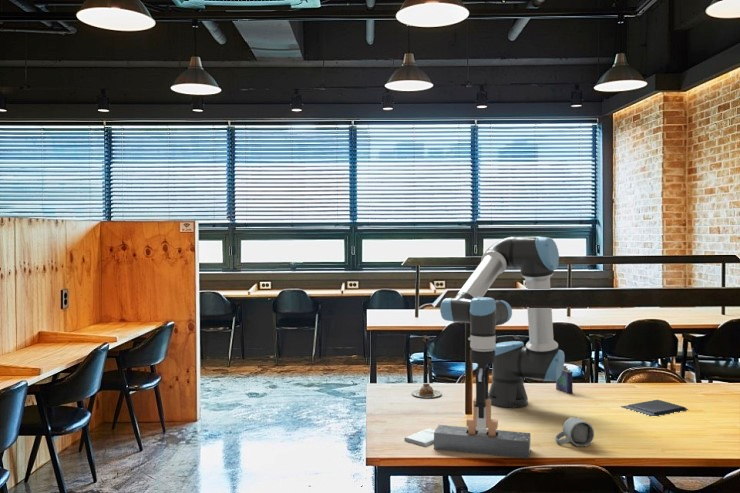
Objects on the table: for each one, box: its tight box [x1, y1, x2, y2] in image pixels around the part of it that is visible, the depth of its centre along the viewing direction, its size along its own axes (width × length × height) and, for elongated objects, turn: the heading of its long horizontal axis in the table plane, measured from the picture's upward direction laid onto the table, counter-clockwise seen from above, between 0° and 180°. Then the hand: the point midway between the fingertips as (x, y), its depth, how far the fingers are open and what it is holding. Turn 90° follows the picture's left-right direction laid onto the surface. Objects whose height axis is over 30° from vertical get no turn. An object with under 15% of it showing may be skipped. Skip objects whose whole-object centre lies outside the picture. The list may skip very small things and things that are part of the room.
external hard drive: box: [403, 428, 436, 447], centre depth 201 cm, size 2×8×12 cm
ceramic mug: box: [554, 417, 595, 447], centre depth 197 cm, size 11×8×8 cm
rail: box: [433, 424, 531, 460], centre depth 191 cm, size 8×28×5 cm, turn 73°
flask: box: [555, 364, 574, 395], centre depth 260 cm, size 9×3×11 cm, turn 21°
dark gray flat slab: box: [620, 399, 689, 417], centre depth 235 cm, size 20×2×15 cm
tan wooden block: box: [466, 397, 499, 436], centre depth 191 cm, size 3×9×12 cm, turn 73°
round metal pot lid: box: [411, 383, 442, 399], centre depth 254 cm, size 12×12×5 cm
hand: (482, 426), depth 191 cm, fingers closed on tan wooden block, 3 cm apart
